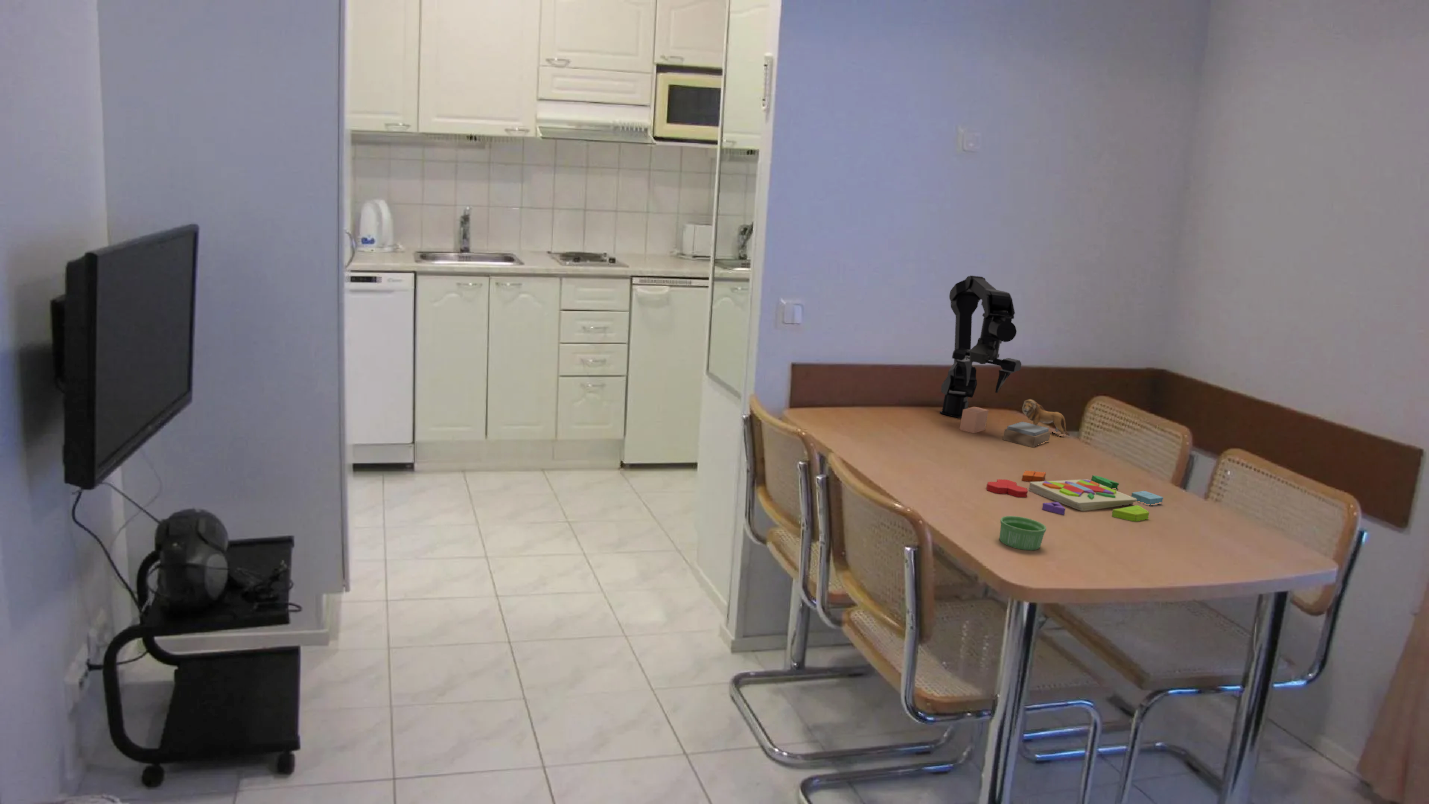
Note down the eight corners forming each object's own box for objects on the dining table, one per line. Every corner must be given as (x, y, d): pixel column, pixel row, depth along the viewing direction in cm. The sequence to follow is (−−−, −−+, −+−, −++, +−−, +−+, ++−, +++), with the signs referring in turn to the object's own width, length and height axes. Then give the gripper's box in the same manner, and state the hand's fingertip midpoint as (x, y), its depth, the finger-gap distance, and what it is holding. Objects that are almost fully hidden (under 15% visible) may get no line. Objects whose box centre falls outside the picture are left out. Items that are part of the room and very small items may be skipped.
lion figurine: (1017, 429, 341) (1023, 399, 339) (1019, 426, 346) (1024, 396, 344) (1069, 439, 336) (1074, 409, 335) (1069, 435, 341) (1075, 406, 340)
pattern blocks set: (1055, 471, 297) (1058, 460, 297) (1182, 510, 274) (1184, 498, 274) (974, 488, 270) (976, 476, 270) (1106, 533, 248) (1109, 520, 247)
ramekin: (1050, 552, 228) (1054, 531, 227) (1009, 550, 226) (1013, 529, 225) (1029, 537, 237) (1033, 516, 236) (989, 535, 235) (993, 514, 234)
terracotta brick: (959, 429, 330) (963, 409, 329) (970, 426, 337) (974, 406, 336) (973, 433, 328) (977, 412, 327) (984, 430, 334) (988, 409, 333)
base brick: (1002, 439, 324) (1005, 425, 323) (1018, 434, 334) (1021, 420, 333) (1033, 447, 319) (1035, 433, 318) (1048, 441, 329) (1051, 428, 328)
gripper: (949, 330, 325) (939, 384, 328) (1012, 344, 315) (1002, 399, 318) (964, 328, 334) (955, 381, 337) (1026, 341, 324) (1016, 395, 327)
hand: (981, 389), depth 330 cm, fingers open, 9 cm apart
